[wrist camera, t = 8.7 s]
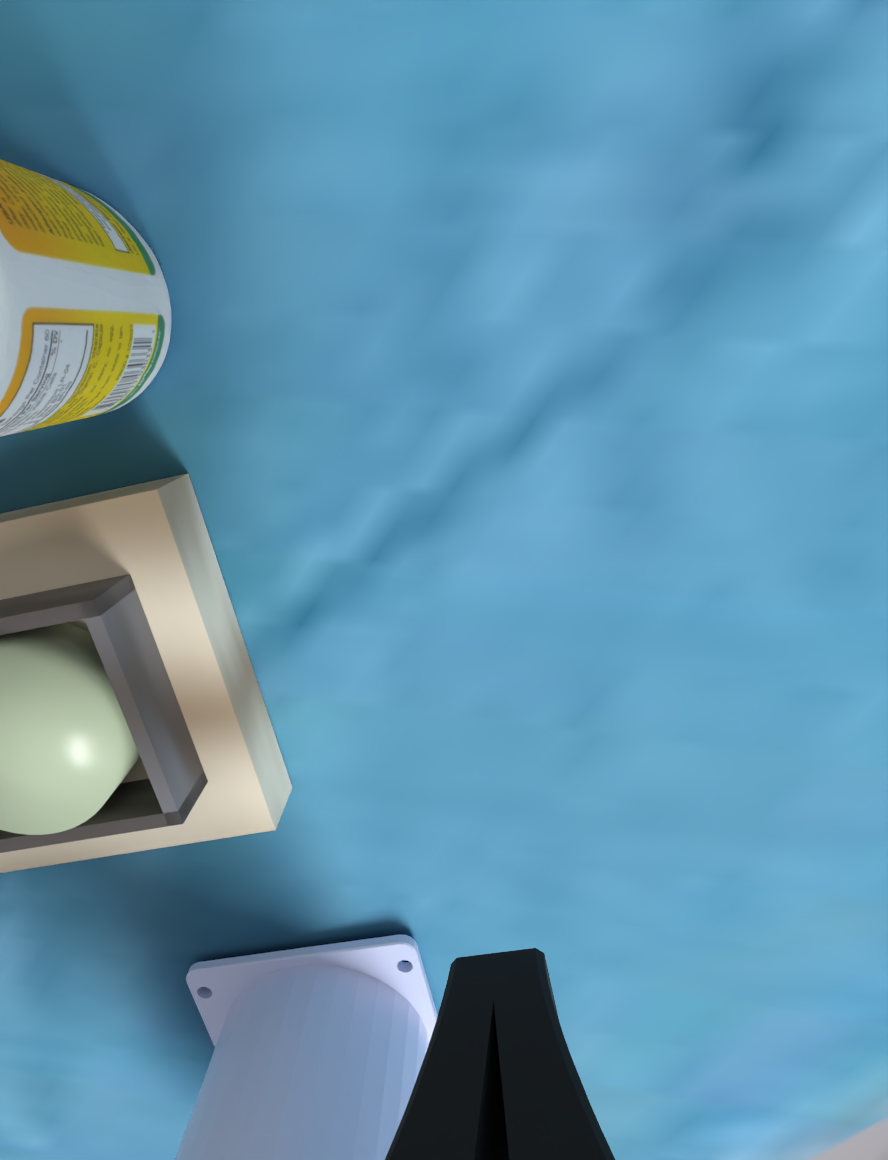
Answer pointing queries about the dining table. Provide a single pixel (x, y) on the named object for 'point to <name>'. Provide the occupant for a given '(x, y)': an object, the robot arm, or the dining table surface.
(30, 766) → the button sage
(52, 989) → the dining table surface
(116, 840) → the button board
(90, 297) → the supplement bottle
